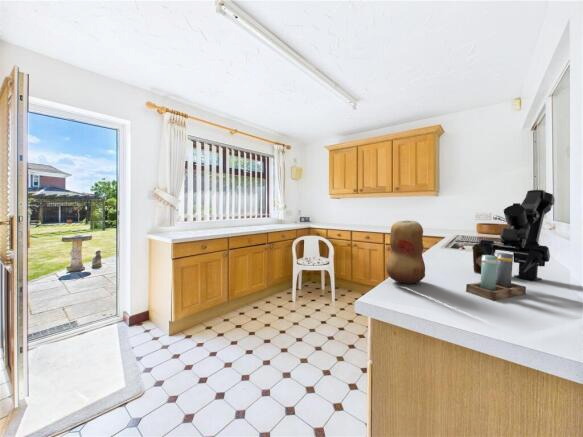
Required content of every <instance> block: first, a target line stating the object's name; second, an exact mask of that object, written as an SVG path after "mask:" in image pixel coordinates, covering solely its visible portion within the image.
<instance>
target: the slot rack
mask: <svg viewBox="0 0 583 437" xmlns="http://www.w3.org/2000/svg"><path fill="white" fill-rule="evenodd" d="M480 285H481V281H478V282H471V283H468V284H467V283H466V286H465V287H466V289H465V292H466V293H468V294H471V295H474V296H478V297H480V298H482V299H483V298H484V299H486V300H490V301H492V302H496V301H501V300H506V299H510V298H515V297H520V296H526V295H527V292H526V291H527V290H526V289H527V286H524V285H522V284H521V285H520V284H517V283H513V282H511V288H505V287H501V286H498V285H496V291H489V290H486V289H483V288H480Z"/></svg>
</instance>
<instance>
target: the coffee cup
mask: <svg viewBox="0 0 583 437" xmlns="http://www.w3.org/2000/svg"><path fill="white" fill-rule="evenodd" d="M471 249H472V262H473V266H472V267H473V272H474V273H475V274H480V275H481V266H482V255H485V253H483V252H482V251H481V249H480V246H479V243H474V245H473V246H472V247H471Z"/></svg>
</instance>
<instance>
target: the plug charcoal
mask: <svg viewBox="0 0 583 437" xmlns="http://www.w3.org/2000/svg"><path fill="white" fill-rule="evenodd" d="M513 263H514V257H513V254H510V253H503V252H502V253H501V252H499V253H497V273H496V285H498V286H501V287H505V288H511V283H512V278H513V277H512V275H513Z"/></svg>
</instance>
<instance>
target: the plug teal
mask: <svg viewBox="0 0 583 437" xmlns="http://www.w3.org/2000/svg"><path fill="white" fill-rule="evenodd" d="M497 256H498V255H497ZM497 256H496V255H495V256H492V255H482V266H481V274H480V282H481V285H480V288H483V289H486V290H489V291H496V274H497Z"/></svg>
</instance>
